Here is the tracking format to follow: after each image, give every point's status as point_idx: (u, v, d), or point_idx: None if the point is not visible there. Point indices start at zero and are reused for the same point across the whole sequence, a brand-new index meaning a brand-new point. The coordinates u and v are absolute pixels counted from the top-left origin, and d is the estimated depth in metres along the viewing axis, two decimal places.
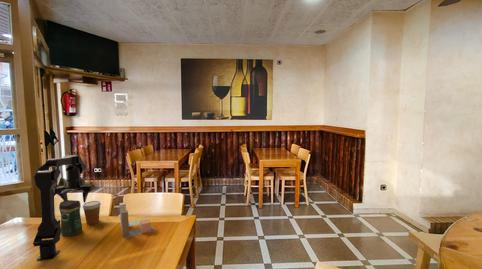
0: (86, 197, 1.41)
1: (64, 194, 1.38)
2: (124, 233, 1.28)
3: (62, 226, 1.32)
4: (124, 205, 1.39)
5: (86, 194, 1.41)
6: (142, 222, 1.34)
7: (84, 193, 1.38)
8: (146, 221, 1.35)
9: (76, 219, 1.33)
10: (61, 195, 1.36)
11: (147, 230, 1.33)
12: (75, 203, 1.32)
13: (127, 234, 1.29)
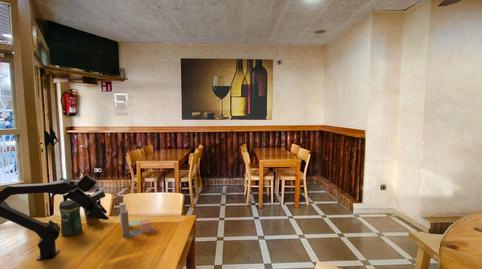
0: (104, 216, 1.20)
1: None
2: (124, 233, 1.28)
3: (62, 226, 1.32)
4: (124, 205, 1.39)
5: (100, 214, 1.19)
6: (142, 222, 1.34)
7: None
8: (146, 221, 1.35)
9: (76, 219, 1.33)
10: None
11: (147, 230, 1.33)
12: (75, 203, 1.32)
13: (127, 234, 1.29)
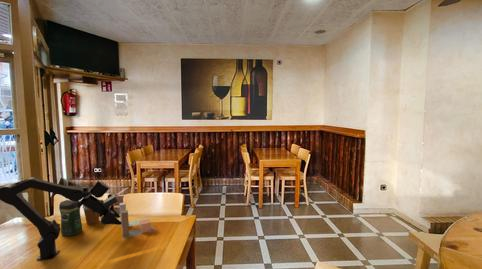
0: (117, 221, 1.22)
1: None
2: (124, 233, 1.28)
3: (62, 226, 1.32)
4: (124, 205, 1.39)
5: (113, 219, 1.21)
6: (142, 222, 1.34)
7: None
8: (146, 221, 1.35)
9: (76, 219, 1.33)
10: None
11: (147, 230, 1.33)
12: (75, 203, 1.32)
13: (127, 234, 1.29)
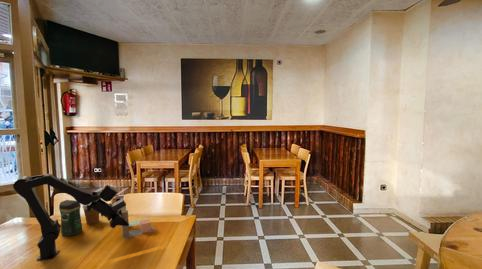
0: (124, 222, 1.27)
1: None
2: (124, 233, 1.28)
3: (62, 226, 1.32)
4: None
5: (121, 221, 1.26)
6: (142, 222, 1.34)
7: None
8: (146, 221, 1.35)
9: (76, 219, 1.33)
10: None
11: (147, 230, 1.33)
12: (75, 203, 1.32)
13: (127, 234, 1.29)
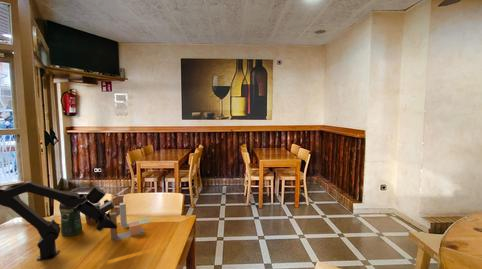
0: (112, 225, 1.24)
1: None
2: (112, 236, 1.26)
3: (62, 226, 1.32)
4: (124, 205, 1.39)
5: (109, 223, 1.23)
6: (131, 224, 1.31)
7: None
8: (135, 224, 1.32)
9: (76, 219, 1.33)
10: None
11: (136, 233, 1.31)
12: None
13: (115, 237, 1.26)
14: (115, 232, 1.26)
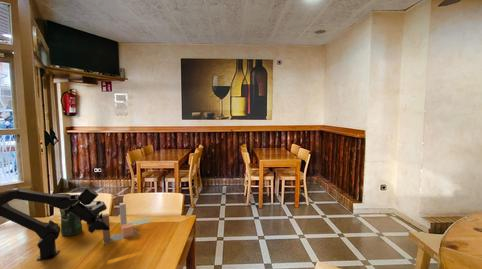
0: (105, 226, 1.22)
1: None
2: (105, 238, 1.24)
3: (62, 226, 1.32)
4: (124, 205, 1.39)
5: (101, 225, 1.21)
6: (124, 226, 1.29)
7: None
8: (128, 225, 1.30)
9: (76, 219, 1.33)
10: None
11: (129, 234, 1.29)
12: None
13: (108, 239, 1.25)
14: (108, 234, 1.24)
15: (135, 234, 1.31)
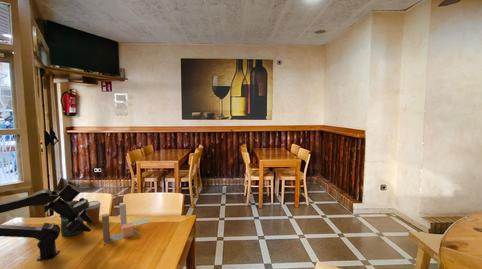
0: (85, 228, 1.16)
1: (80, 217, 1.24)
2: (105, 238, 1.24)
3: (62, 226, 1.32)
4: (124, 205, 1.39)
5: (82, 226, 1.15)
6: (124, 226, 1.29)
7: None
8: (128, 225, 1.30)
9: None
10: None
11: (129, 234, 1.29)
12: (75, 203, 1.32)
13: (108, 239, 1.25)
14: (107, 234, 1.24)
15: (135, 234, 1.31)
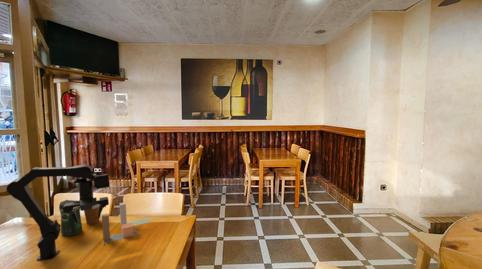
0: (74, 218, 1.17)
1: (99, 206, 1.24)
2: (105, 238, 1.24)
3: (62, 226, 1.32)
4: (124, 205, 1.39)
5: None
6: (124, 226, 1.29)
7: None
8: (128, 225, 1.30)
9: None
10: None
11: (129, 234, 1.29)
12: (75, 203, 1.32)
13: (108, 239, 1.25)
14: (107, 234, 1.24)
15: (135, 234, 1.31)
